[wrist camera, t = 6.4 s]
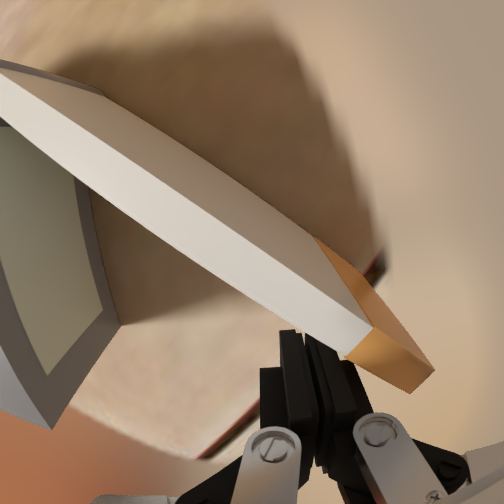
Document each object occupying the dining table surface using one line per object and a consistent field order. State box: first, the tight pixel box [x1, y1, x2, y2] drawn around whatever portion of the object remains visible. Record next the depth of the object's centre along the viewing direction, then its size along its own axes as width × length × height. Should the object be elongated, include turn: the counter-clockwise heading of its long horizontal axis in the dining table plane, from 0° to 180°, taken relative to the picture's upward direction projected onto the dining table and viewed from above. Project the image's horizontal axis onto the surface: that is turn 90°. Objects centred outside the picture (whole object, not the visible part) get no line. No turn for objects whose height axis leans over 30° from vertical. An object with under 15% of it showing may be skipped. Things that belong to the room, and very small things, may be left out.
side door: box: [0, 60, 435, 394], centre depth 10 cm, size 18×1×9 cm, turn 54°
